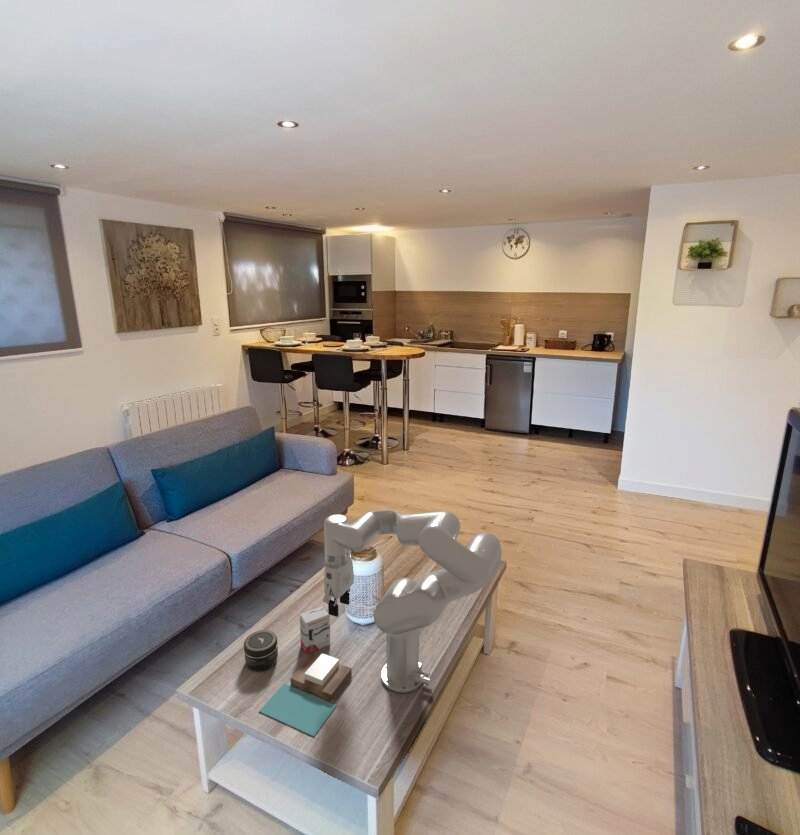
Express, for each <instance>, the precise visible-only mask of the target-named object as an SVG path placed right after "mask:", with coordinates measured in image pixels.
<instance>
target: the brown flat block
mask: <svg viewBox="0 0 800 835" xmlns="http://www.w3.org/2000/svg"><path fill="white" fill-rule="evenodd" d="M319 656H320V655H317V654H315V653H311V655H309V657H308V658H307V659H306V660H305V661H304V663H302V664H301V666H300V667H299V668H298V669H297V670H296V671H295V672H294V673H293V674H292V676H291V677H290V678H289V679H290V686H292V687H294V688H297V689H299V690H301V691H304V692H306V693H309V694H311V695H313V696H316V697H318V698H321V699H323V700H325V701H328V702H330V703H332V702H333V701H334V699H335V698H336V697H337V695H338V694H339V693H340V691H341V690H342V689H343V688H344V687H345V685H346V683H347V682H348V681H349V679H350V678H351V676H352V674H353V673H352V667H349V666H346V665H344V664H341V663H339V666H338V667H337V668H336V670H335V671H334V672H333V673H332V675H331V676H330V677H329V678H328V680H327V681H326V682H325V683H324V685H323V686H321V685H318V684H316V683H313V682H311V681H308V680H306V679H305V672H306V671H307V670H308V669H309V668H310V667H311V665H312V664H313V663H314V662H315V661H316V660H317V659H318V657H319Z"/></svg>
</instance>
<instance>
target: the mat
mask: <svg viewBox="0 0 800 835" xmlns="http://www.w3.org/2000/svg"><path fill="white" fill-rule="evenodd" d="M336 708H337V704H334V703H332V702H330V701H327V700H325V699H323V698H320V697H318V696H315V695H313V694H311V693H308V692H306V691H303V690H301V689H299V688H296V687H294V686H291V685H289V684H286V683H282V685H281V686H280V687H279V688H278V690H276V692H274V693H273V695H272V696H271V697H270V698H269V700H267V701H266V703H265V704H263V706H262V707H261V708H260V709H259V710H258V712H259V713H261V714H263V715H265V716H268V717H270V718H272V719H274V720H276V721H278V722H280V723H282V724H285V725H286V726H289V727H292V728H293V729H296V730H298V731H300V732H302V733H304V734H307V735H309V736H311V737H312V738H315V736H316V735H317V734H318V732H319V731H320V729H322V727H323V726H324V724H325V722H326V721H327V720H328V718H329V717H330V716H331V714H333V712H334V710H335V709H336Z"/></svg>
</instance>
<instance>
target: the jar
mask: <svg viewBox="0 0 800 835" xmlns="http://www.w3.org/2000/svg"><path fill="white" fill-rule="evenodd" d="M278 641H279V640H278V637H277V635H276V634H275V632H273V631H271V630H269V629H268V630H266V629H262V630H257V631H255V632H254V631H253V632H252V633H250V634H248V636H247V637H246V638H245V639H244V642H243V653H244V660H245V664H246V666H247V667H248V669H249V670H252V671H254V672H262V671H263V672H264V671H266V670H268V669H271V668H272V667H273V666H275V664H276V662H277V660H278V656H279V654H278V653H279V651H278V644H279V643H278Z"/></svg>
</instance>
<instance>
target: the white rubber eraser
mask: <svg viewBox="0 0 800 835" xmlns="http://www.w3.org/2000/svg"><path fill="white" fill-rule="evenodd" d="M318 656H319V657H318V659H317V660H316V661H315V662H314V663H313V664H312V665H311V667H310V668H309V669H308V670H307V671H306V672H305V679H306V680H308V681H311V682H313V683H316V684H318V685H321V686H323V685H324V683H325V682H326V681H327V680H328V678H329V677H330V676H331V675H332V673H333V672H334V671H335V670H336V668H337V667H338V666H339V664H340V659H339V658H336V657H334V656H331V655H328V654H325V653H321V654H320V655H318Z"/></svg>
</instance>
